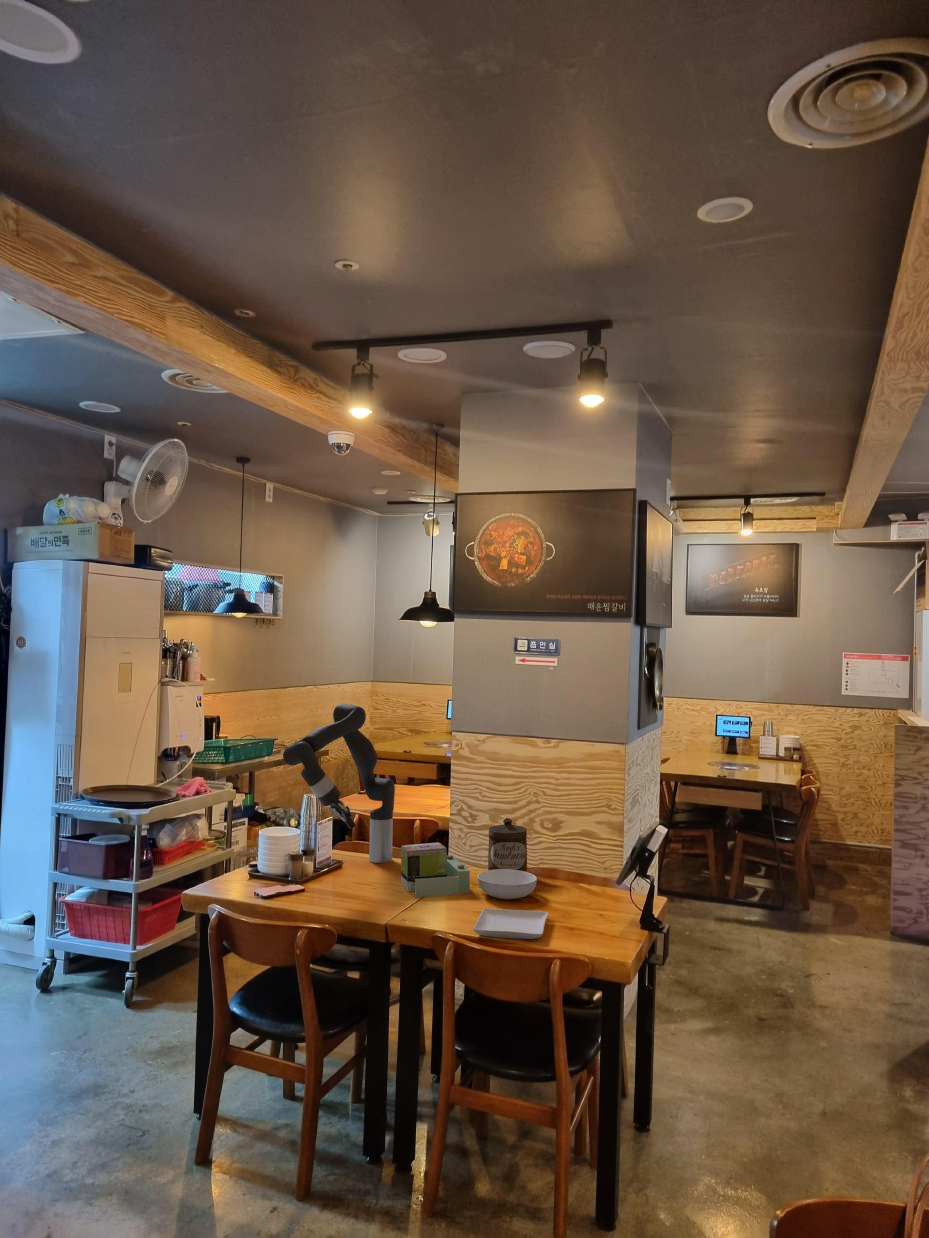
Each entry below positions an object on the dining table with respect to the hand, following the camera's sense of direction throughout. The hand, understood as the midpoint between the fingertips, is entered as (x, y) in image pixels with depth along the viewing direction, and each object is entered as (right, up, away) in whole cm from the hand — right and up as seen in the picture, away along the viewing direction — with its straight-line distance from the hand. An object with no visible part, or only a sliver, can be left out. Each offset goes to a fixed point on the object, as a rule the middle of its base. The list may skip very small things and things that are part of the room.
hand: (353, 826), depth 302 cm
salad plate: (+54, -23, -40) cm, 71 cm away
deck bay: (+29, -23, +6) cm, 38 cm away
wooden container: (+56, -24, +22) cm, 65 cm away
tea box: (+25, -23, +6) cm, 35 cm away
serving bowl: (+55, -24, -4) cm, 60 cm away
